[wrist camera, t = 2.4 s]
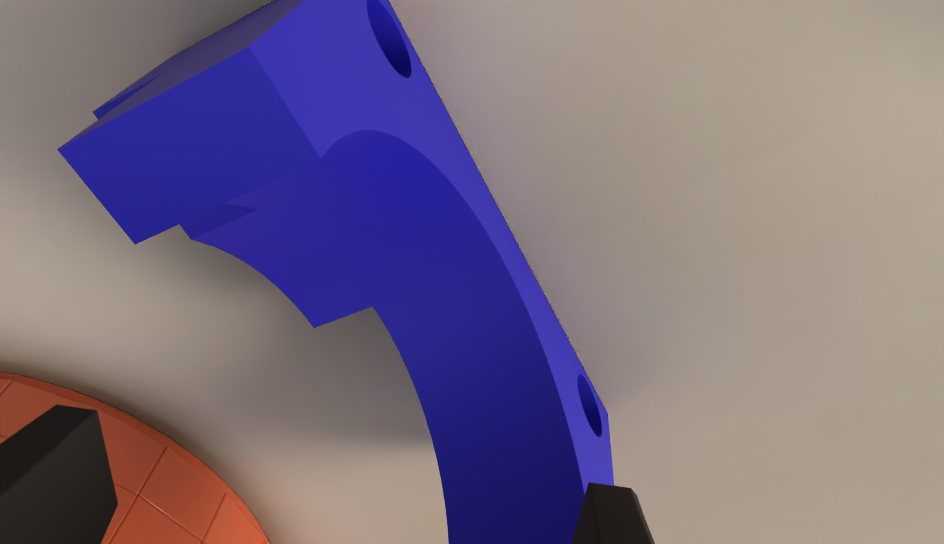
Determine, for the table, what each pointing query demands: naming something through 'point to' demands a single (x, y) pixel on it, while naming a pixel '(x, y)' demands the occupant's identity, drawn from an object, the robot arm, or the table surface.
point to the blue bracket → (366, 238)
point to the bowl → (142, 474)
